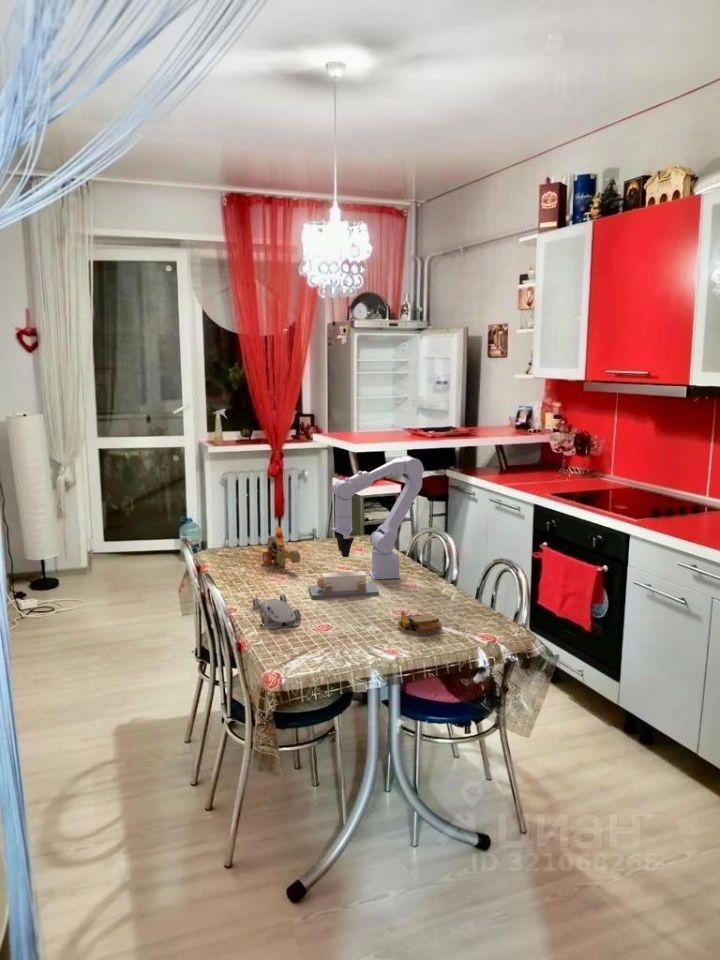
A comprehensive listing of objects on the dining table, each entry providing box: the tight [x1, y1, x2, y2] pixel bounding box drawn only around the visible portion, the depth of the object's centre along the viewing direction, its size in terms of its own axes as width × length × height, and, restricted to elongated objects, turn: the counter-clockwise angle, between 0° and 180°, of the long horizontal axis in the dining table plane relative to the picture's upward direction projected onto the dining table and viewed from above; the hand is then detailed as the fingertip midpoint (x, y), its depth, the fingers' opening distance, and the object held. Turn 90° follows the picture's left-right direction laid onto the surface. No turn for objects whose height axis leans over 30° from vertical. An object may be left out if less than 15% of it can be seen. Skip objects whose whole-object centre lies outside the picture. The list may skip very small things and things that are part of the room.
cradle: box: [308, 581, 380, 600], centre depth 239 cm, size 22×10×4 cm, turn 99°
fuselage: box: [316, 571, 367, 592], centre depth 239 cm, size 16×4×5 cm, turn 99°
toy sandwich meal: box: [397, 610, 442, 636], centre depth 208 cm, size 12×14×5 cm
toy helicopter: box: [261, 526, 301, 567], centre depth 266 cm, size 8×21×14 cm, turn 37°
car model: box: [252, 593, 302, 630], centre depth 218 cm, size 11×24×5 cm, turn 20°
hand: (343, 553), depth 251 cm, fingers open, 7 cm apart
